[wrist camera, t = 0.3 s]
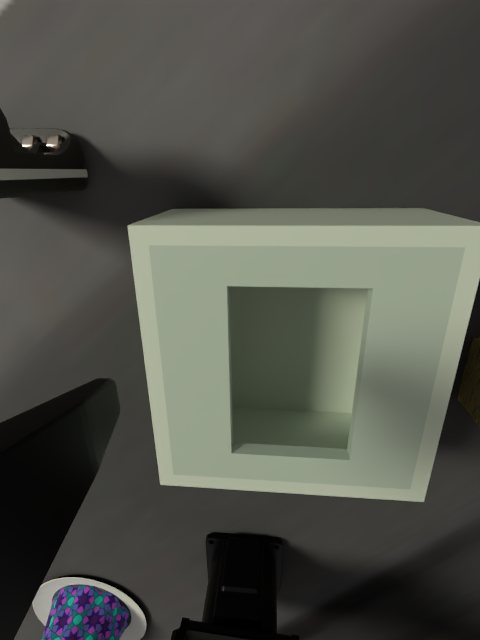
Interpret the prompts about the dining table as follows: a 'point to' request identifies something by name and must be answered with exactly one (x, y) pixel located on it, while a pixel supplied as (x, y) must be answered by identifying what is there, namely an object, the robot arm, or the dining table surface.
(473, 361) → the khaki wooden block
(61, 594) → the pudding
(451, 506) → the dining table surface
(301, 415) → the open box
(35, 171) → the battery charger
